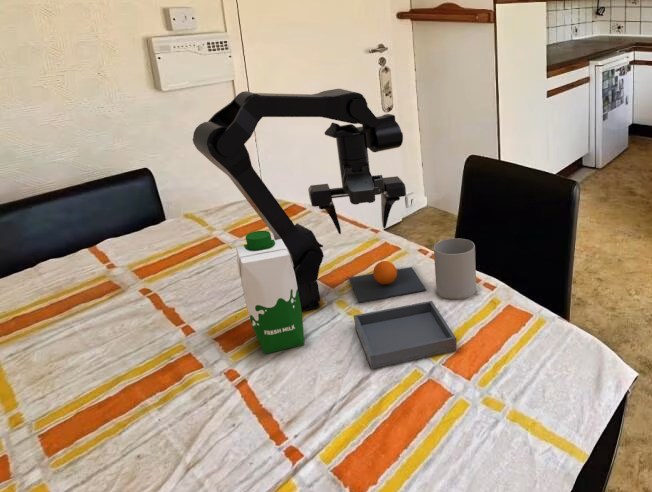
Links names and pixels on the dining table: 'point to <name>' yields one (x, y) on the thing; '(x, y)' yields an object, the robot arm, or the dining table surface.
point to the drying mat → (386, 286)
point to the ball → (385, 272)
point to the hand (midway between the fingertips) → (362, 230)
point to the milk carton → (270, 292)
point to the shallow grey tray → (404, 334)
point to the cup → (455, 268)
